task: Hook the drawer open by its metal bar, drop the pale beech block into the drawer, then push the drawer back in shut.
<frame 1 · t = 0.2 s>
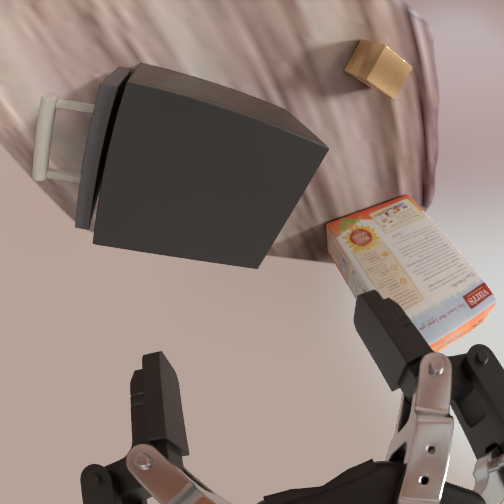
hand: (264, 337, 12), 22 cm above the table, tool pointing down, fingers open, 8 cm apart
block: (366, 64, 25), on the table
fryer: (193, 142, 28), on the table
drawer: (143, 151, 22), point 5 cm above the table, slide at 0.5 cm
cracker box: (367, 220, 42), on the table
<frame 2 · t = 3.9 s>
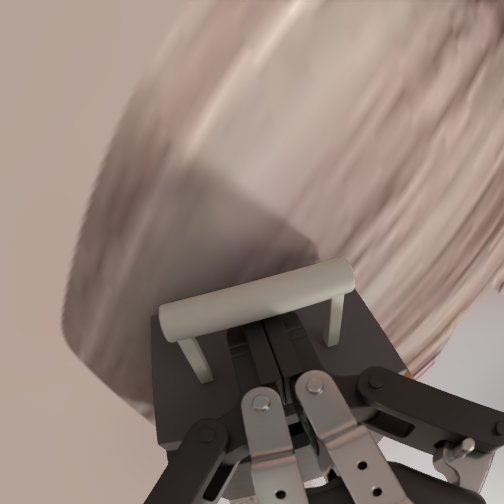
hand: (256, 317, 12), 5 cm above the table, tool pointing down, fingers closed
fryer: (262, 366, 24), on the table
drawer: (272, 384, 17), point 5 cm above the table, slide at 1.4 cm, touching gripper
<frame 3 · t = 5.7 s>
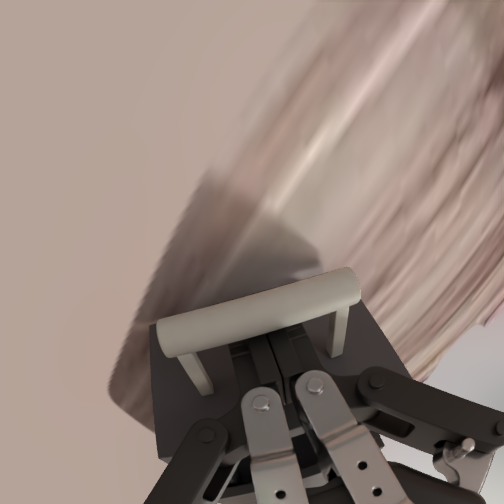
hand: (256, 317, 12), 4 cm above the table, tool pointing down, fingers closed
fryer: (271, 405, 28), on the table
drawer: (274, 394, 16), point 5 cm above the table, slide at 8.4 cm
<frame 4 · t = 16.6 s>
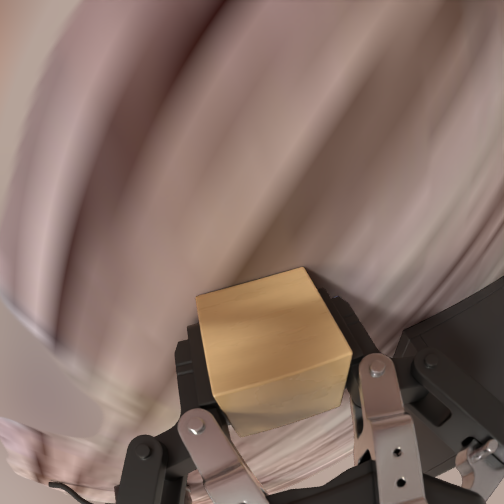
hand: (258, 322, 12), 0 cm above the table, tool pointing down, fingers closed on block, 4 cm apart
block: (257, 316, 12), on the table, touching gripper
fryer: (439, 353, 22), on the table
when the fingers open (7 cm above the table, at t = 24.2 s): block stays where it is, resting on drawer.
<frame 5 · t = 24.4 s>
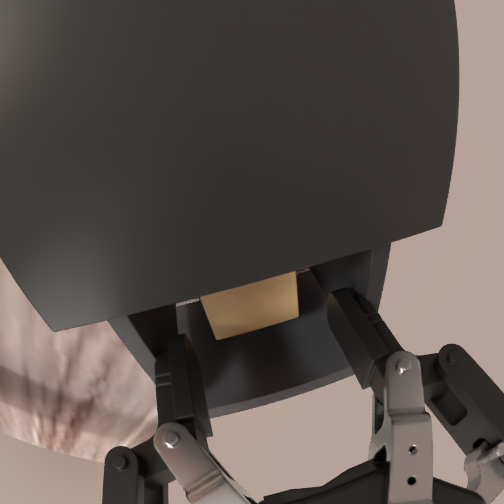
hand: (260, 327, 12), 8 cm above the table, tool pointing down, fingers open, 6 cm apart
block: (233, 246, 16), point 2 cm above the table, touching drawer
fryer: (185, 28, 11), on the table
drawer: (249, 297, 15), point 5 cm above the table, slide at 8.5 cm, touching block, gripper
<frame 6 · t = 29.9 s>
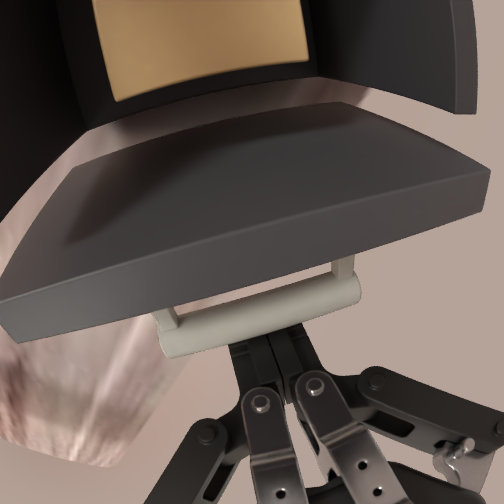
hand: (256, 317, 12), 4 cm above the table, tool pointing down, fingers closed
block: (187, 15, 7), point 2 cm above the table, touching drawer
drawer: (200, 39, 6), point 5 cm above the table, slide at 8.4 cm, touching block, gripper
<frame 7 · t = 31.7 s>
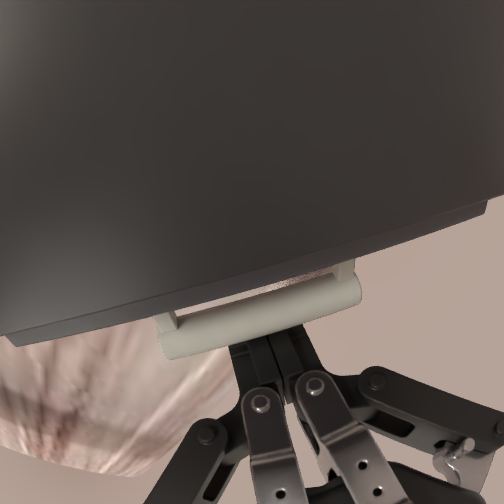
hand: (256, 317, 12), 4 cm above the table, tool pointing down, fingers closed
drawer: (200, 38, 6), point 5 cm above the table, slide at 0.0 cm, touching block, fryer, gripper
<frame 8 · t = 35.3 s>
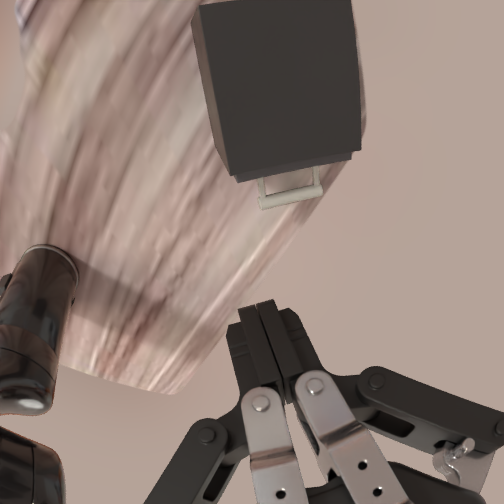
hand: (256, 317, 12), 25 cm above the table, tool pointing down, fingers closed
fryer: (260, 74, 29), on the table
drawer: (279, 117, 27), point 5 cm above the table, slide at 0.0 cm, touching block, fryer
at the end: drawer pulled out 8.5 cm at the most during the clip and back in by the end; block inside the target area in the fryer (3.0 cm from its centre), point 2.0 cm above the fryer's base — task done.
